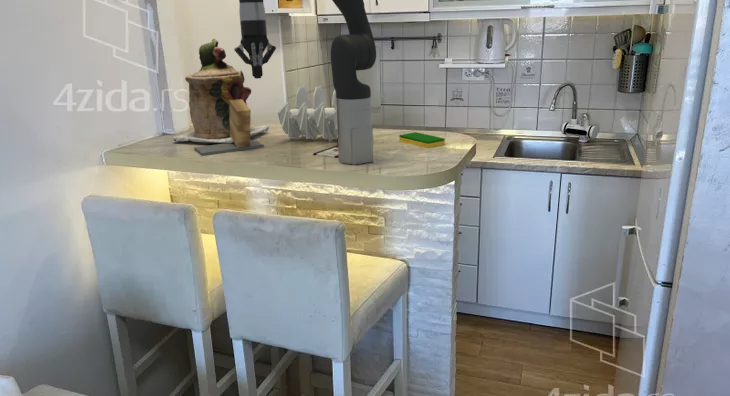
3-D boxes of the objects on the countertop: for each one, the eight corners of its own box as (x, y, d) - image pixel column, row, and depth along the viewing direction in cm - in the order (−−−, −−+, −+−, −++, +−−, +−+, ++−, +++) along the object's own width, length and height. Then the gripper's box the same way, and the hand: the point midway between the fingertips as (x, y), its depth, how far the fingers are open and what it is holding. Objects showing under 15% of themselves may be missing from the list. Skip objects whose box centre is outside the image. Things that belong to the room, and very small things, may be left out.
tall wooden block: (242, 134, 175) (242, 99, 168) (250, 145, 169) (250, 110, 162) (229, 135, 173) (229, 100, 166) (237, 147, 167) (237, 111, 161)
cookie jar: (169, 142, 179) (155, 40, 170) (212, 129, 201) (201, 39, 192) (235, 144, 171) (224, 37, 162) (272, 130, 194) (264, 36, 185)
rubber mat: (263, 147, 170) (263, 144, 170) (202, 155, 161) (202, 153, 161) (253, 142, 178) (253, 139, 178) (194, 149, 169) (194, 147, 169)
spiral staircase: (296, 148, 186) (366, 147, 179) (273, 135, 170) (349, 133, 162) (300, 96, 189) (369, 93, 181) (277, 78, 172) (353, 74, 165)
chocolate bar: (372, 144, 168) (338, 156, 154) (372, 147, 168) (338, 159, 154) (347, 141, 173) (312, 153, 158) (347, 144, 173) (313, 156, 159)
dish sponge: (415, 139, 178) (415, 131, 177) (445, 146, 167) (445, 138, 167) (398, 142, 174) (398, 134, 173) (427, 149, 163) (427, 141, 163)
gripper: (269, 18, 169) (273, 75, 175) (227, 19, 163) (233, 78, 169) (278, 18, 163) (282, 77, 169) (234, 19, 157) (240, 80, 162)
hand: (257, 78), depth 169 cm, fingers closed
